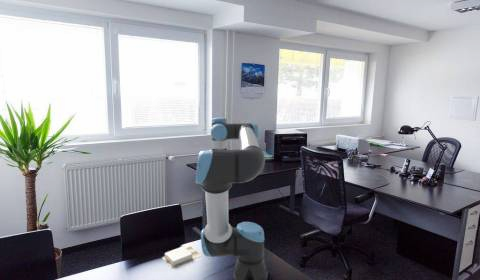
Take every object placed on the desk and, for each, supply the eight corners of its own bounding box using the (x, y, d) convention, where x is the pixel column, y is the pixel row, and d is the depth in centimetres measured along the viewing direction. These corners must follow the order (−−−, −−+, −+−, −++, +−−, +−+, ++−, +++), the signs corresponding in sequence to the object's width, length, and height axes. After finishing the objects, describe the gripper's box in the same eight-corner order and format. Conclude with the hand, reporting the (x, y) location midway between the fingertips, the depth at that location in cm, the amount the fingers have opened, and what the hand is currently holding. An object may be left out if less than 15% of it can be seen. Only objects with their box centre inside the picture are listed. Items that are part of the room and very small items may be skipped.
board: (202, 257, 146) (202, 255, 146) (172, 270, 136) (172, 268, 136) (190, 248, 154) (190, 246, 154) (161, 259, 144) (161, 257, 144)
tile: (192, 253, 143) (173, 261, 137) (192, 258, 144) (173, 266, 137) (183, 246, 150) (164, 253, 144) (183, 250, 150) (164, 257, 144)
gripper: (225, 145, 159) (226, 188, 163) (204, 148, 151) (205, 193, 155) (234, 147, 153) (234, 192, 157) (212, 150, 145) (213, 197, 149)
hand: (219, 192), depth 156 cm, fingers closed
